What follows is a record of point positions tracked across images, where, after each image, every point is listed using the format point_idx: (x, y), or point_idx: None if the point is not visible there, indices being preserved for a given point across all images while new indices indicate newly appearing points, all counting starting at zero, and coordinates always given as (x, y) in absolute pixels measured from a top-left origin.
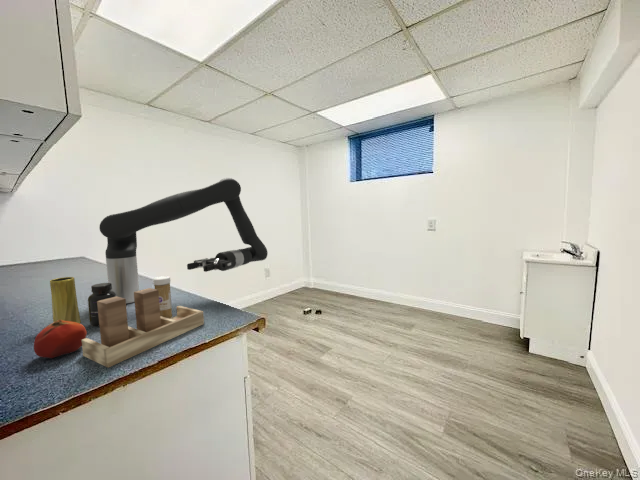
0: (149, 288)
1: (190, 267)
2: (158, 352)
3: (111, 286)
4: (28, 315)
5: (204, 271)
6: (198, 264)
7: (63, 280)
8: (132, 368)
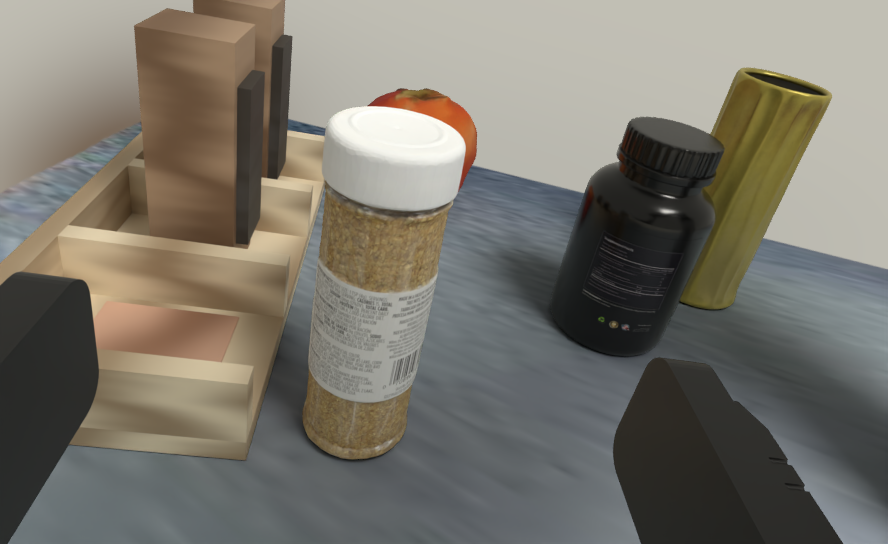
0: (223, 39)
1: (640, 454)
2: (50, 215)
3: (655, 159)
4: None
5: (85, 397)
6: None
7: (741, 71)
8: (76, 167)
